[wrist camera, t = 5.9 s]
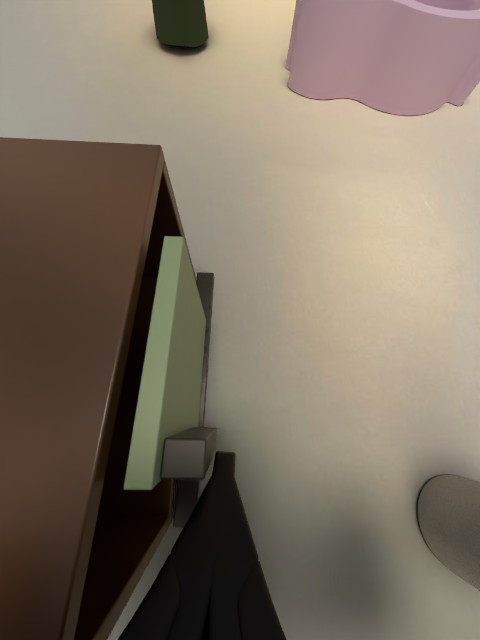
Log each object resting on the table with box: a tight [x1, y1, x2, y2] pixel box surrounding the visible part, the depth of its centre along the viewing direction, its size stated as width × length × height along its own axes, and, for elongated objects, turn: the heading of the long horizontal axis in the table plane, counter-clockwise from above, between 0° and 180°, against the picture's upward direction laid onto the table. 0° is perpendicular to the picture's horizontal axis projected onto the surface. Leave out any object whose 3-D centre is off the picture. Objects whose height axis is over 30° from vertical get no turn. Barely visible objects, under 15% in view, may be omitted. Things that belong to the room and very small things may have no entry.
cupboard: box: [0, 137, 214, 640], centre depth 11 cm, size 15×9×10 cm, turn 179°
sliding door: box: [123, 236, 217, 490], centre depth 11 cm, size 8×2×8 cm, turn 179°
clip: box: [286, 0, 480, 115], centre depth 25 cm, size 20×12×7 cm, turn 89°
